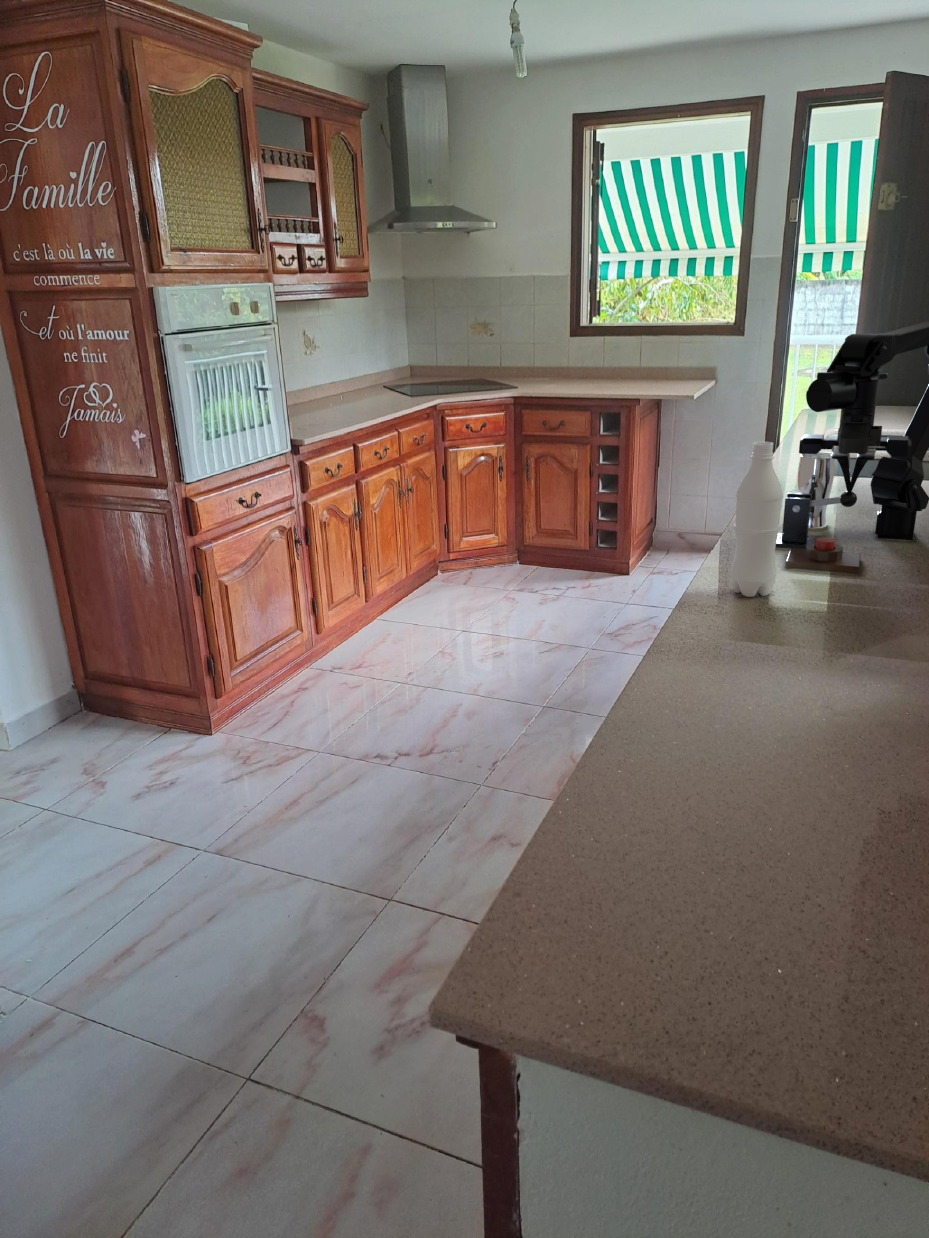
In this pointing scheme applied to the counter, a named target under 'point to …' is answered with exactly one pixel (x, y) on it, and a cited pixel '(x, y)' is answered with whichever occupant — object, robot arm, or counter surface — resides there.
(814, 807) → the counter surface
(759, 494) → the water bottle
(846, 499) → the lever with ball knob
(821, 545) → the red push button
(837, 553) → the control block
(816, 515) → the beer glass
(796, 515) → the black lever housing
